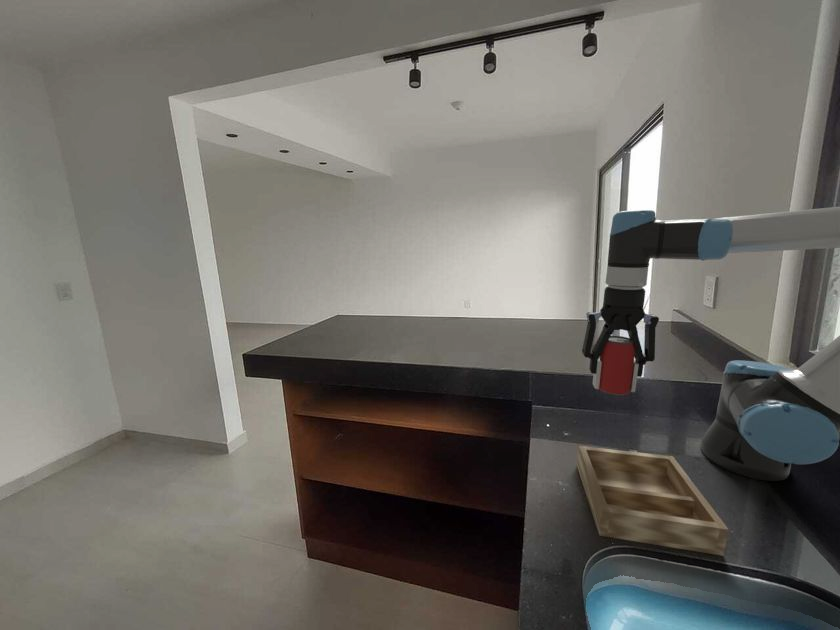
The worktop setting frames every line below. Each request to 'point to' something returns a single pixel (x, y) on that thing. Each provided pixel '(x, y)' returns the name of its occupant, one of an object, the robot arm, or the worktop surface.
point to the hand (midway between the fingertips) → (613, 387)
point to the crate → (648, 501)
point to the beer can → (617, 365)
